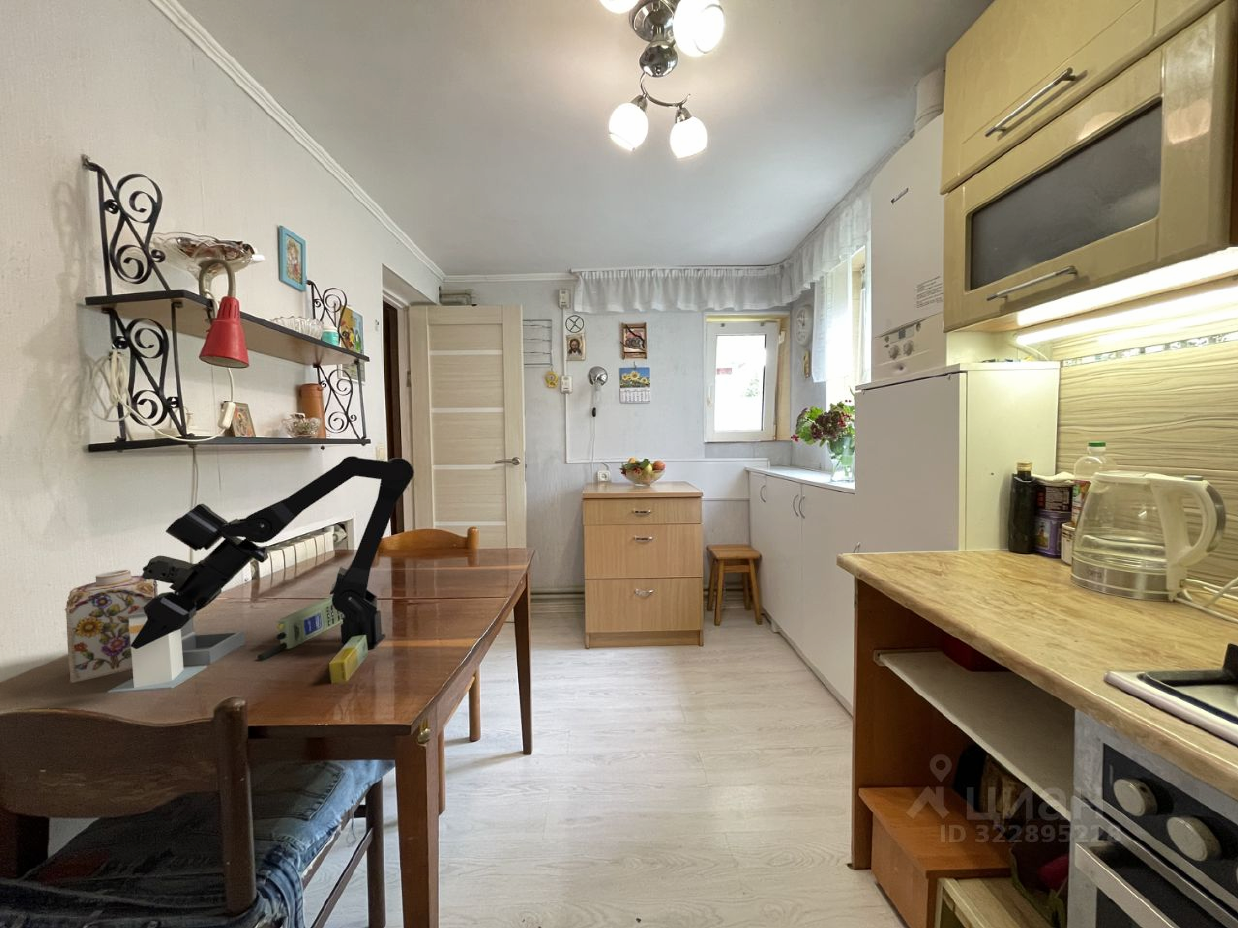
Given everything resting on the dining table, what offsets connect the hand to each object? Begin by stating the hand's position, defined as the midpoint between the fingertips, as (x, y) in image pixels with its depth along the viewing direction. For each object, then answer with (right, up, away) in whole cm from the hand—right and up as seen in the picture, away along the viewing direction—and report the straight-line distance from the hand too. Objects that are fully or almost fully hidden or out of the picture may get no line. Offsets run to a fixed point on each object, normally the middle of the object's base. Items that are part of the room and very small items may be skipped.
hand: (146, 637), depth 85 cm
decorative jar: (-13, -9, +9) cm, 18 cm away
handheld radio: (+16, -7, +20) cm, 27 cm away
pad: (+2, -8, +1) cm, 8 cm away
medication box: (+33, -7, +4) cm, 34 cm away
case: (+1, -8, +11) cm, 13 cm away
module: (+2, -8, +1) cm, 8 cm away
